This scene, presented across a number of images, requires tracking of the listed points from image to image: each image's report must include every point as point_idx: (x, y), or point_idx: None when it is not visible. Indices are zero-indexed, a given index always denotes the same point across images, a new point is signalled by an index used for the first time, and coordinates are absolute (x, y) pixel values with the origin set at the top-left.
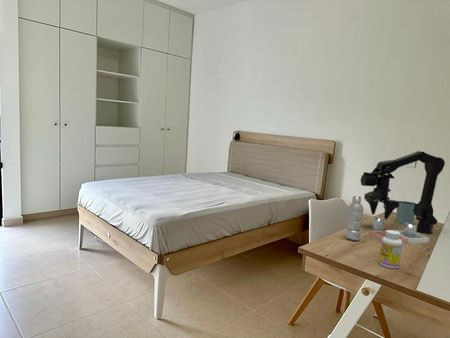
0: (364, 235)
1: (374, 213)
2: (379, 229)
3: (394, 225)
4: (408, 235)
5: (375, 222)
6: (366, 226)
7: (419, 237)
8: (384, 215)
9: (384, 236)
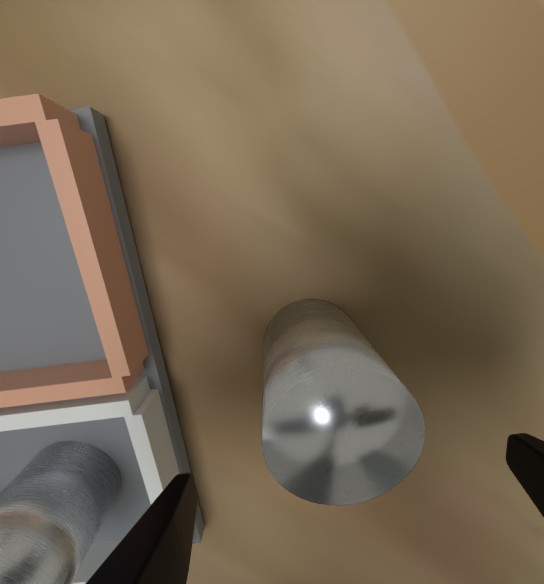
0: (162, 119)
1: (522, 484)
2: (265, 350)
3: (472, 570)
4: (6, 486)
5: (300, 346)
6: (470, 328)
7: None
8: (154, 536)
9: (84, 292)
